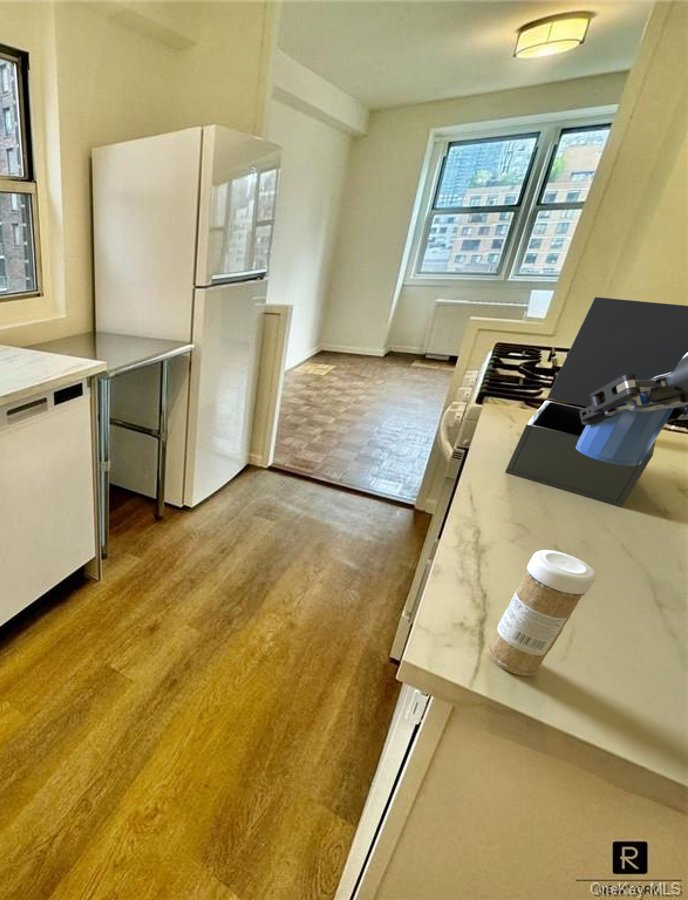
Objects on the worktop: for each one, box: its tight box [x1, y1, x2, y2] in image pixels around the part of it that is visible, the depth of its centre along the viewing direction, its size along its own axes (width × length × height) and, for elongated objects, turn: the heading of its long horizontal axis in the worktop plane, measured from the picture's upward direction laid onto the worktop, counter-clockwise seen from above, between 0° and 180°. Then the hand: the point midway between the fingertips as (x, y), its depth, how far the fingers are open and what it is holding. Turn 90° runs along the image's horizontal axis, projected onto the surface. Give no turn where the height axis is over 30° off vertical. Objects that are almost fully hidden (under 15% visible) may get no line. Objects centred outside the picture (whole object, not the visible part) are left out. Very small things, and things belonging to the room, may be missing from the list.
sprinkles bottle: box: [485, 549, 597, 677], centre depth 49 cm, size 5×5×13 cm
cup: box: [576, 394, 674, 466], centre depth 63 cm, size 6×6×8 cm
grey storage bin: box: [504, 400, 657, 508], centre depth 88 cm, size 19×16×10 cm
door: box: [546, 296, 688, 408], centre depth 88 cm, size 20×16×1 cm
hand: (613, 419), depth 64 cm, fingers closed on cup, 6 cm apart
